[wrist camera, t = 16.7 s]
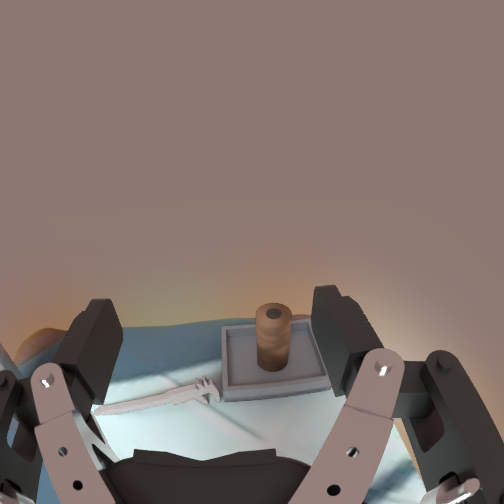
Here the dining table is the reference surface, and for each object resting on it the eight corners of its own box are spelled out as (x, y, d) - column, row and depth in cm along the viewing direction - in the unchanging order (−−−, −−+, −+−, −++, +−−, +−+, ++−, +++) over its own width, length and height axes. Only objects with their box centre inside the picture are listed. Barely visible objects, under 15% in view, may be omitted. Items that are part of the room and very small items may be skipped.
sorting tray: (224, 402, 38) (222, 391, 36) (222, 338, 50) (221, 326, 49) (330, 389, 39) (333, 378, 37) (309, 330, 51) (311, 318, 50)
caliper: (219, 397, 39) (214, 373, 36) (221, 403, 38) (215, 379, 35) (95, 411, 34) (78, 388, 31) (94, 416, 33) (77, 394, 30)
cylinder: (258, 373, 42) (257, 326, 37) (255, 350, 46) (254, 303, 41) (290, 370, 42) (294, 323, 37) (285, 347, 46) (288, 300, 42)
